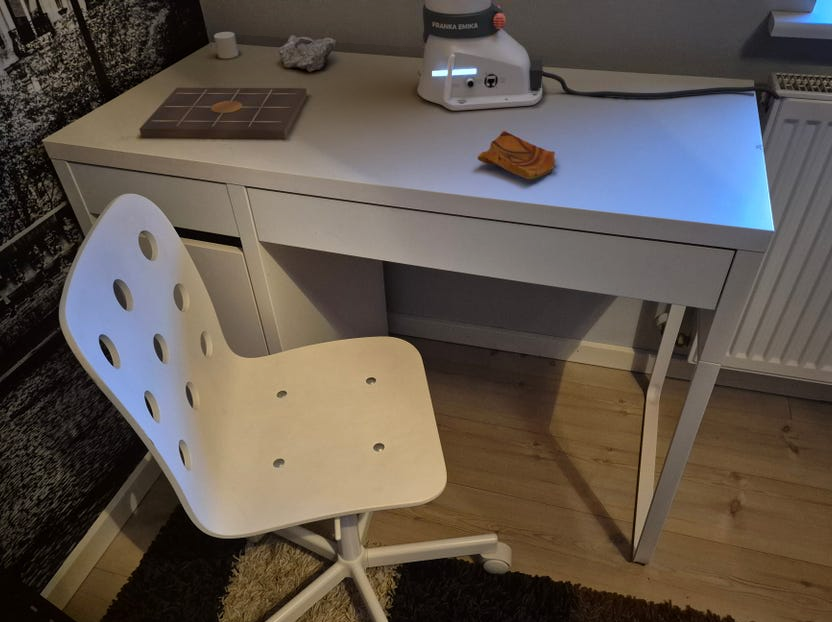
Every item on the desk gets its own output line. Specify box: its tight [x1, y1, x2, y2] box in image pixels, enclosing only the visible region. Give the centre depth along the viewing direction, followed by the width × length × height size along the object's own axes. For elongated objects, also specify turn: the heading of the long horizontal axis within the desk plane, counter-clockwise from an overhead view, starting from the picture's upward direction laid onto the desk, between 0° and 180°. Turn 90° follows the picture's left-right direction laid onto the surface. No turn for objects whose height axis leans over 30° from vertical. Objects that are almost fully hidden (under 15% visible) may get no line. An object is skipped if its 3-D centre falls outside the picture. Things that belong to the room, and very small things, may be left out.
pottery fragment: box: [477, 130, 556, 180], centre depth 97 cm, size 10×5×10 cm
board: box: [139, 87, 308, 140], centre depth 115 cm, size 24×18×2 cm
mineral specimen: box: [277, 34, 337, 72], centre depth 132 cm, size 6×11×12 cm
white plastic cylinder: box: [213, 31, 239, 60], centre depth 137 cm, size 4×4×4 cm
